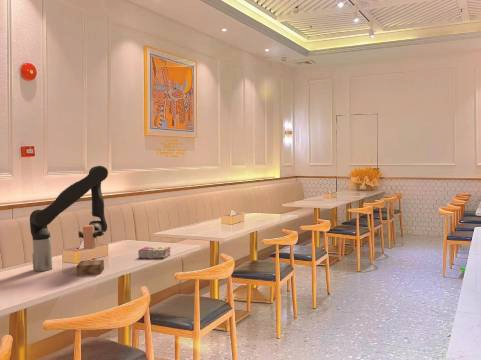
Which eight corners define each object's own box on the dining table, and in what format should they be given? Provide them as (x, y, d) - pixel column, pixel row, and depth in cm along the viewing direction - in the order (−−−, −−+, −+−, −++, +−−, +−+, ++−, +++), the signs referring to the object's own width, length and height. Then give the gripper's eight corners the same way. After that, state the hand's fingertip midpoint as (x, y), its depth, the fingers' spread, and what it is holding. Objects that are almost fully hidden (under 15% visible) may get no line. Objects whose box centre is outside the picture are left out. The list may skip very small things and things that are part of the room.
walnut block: (77, 275, 260) (76, 265, 260) (81, 270, 272) (81, 261, 272) (100, 273, 262) (100, 264, 262) (104, 268, 274) (103, 259, 274)
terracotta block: (84, 249, 264) (82, 226, 263) (85, 247, 269) (84, 225, 268) (93, 248, 264) (92, 226, 264) (95, 247, 269) (94, 224, 269)
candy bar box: (145, 246, 308) (170, 246, 305) (145, 254, 309) (170, 254, 306) (138, 249, 297) (164, 250, 294) (138, 258, 298) (164, 258, 295)
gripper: (79, 225, 279) (73, 229, 262) (106, 223, 281) (101, 228, 264) (80, 238, 280) (74, 243, 263) (106, 236, 281) (102, 242, 264)
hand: (88, 235), depth 263 cm, fingers closed on terracotta block, 5 cm apart
